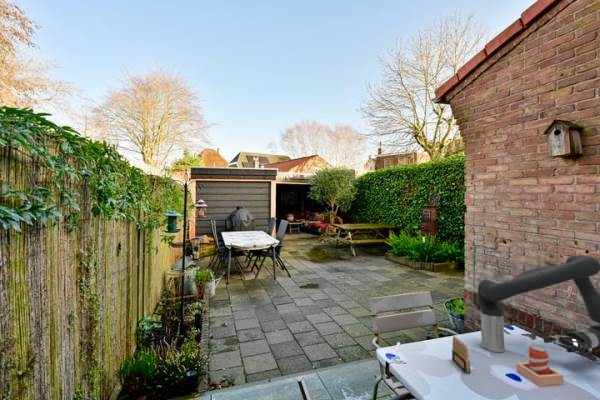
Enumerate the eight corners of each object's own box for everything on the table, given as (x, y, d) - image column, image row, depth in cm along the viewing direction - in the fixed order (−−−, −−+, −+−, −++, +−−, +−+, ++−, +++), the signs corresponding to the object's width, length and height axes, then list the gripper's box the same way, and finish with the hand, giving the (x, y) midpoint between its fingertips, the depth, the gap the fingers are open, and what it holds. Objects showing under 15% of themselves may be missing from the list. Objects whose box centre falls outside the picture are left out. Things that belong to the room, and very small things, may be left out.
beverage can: (530, 371, 120) (529, 342, 120) (550, 377, 115) (549, 347, 116) (528, 377, 116) (527, 348, 116) (549, 384, 111) (547, 353, 111)
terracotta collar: (540, 386, 110) (539, 377, 110) (516, 371, 120) (516, 363, 120) (563, 384, 111) (563, 375, 111) (538, 369, 121) (538, 361, 121)
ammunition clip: (470, 373, 119) (469, 345, 120) (466, 373, 119) (464, 345, 120) (456, 360, 130) (454, 334, 130) (452, 360, 130) (450, 334, 130)
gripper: (562, 324, 130) (537, 329, 126) (602, 338, 117) (575, 343, 112) (563, 341, 130) (537, 346, 126) (603, 356, 116) (576, 362, 112)
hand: (555, 344), depth 119 cm, fingers open, 8 cm apart
